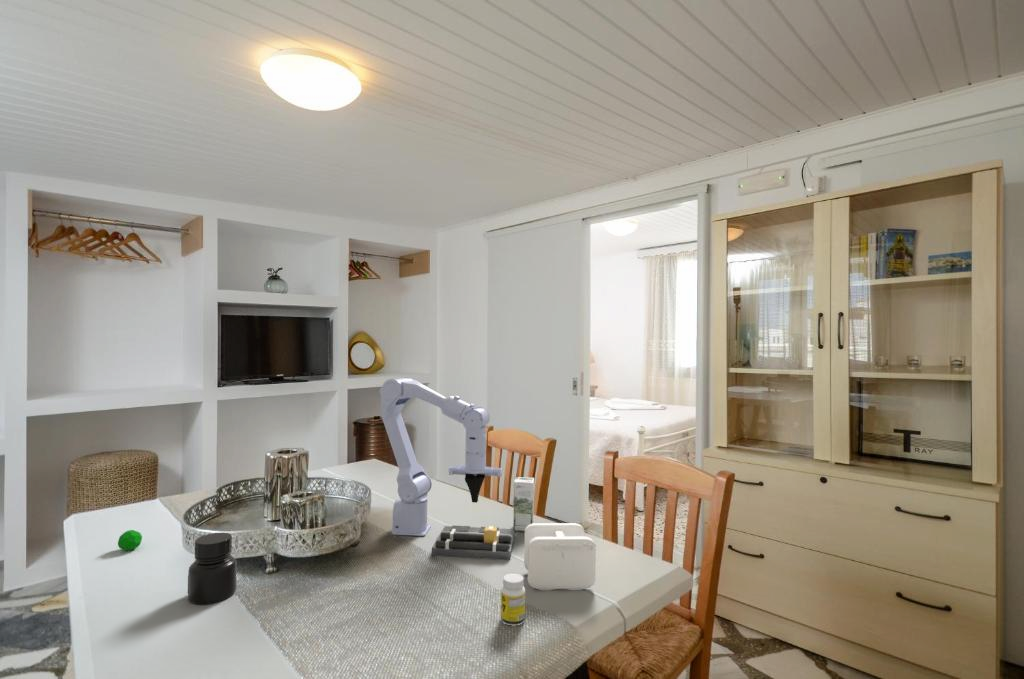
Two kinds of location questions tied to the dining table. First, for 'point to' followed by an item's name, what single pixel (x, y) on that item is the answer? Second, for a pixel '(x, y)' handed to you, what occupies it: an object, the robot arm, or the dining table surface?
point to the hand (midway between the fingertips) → (474, 501)
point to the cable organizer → (559, 556)
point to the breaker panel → (474, 552)
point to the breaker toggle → (490, 534)
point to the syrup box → (523, 503)
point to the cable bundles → (475, 537)
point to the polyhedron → (129, 540)
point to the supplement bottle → (513, 599)
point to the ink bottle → (212, 569)
